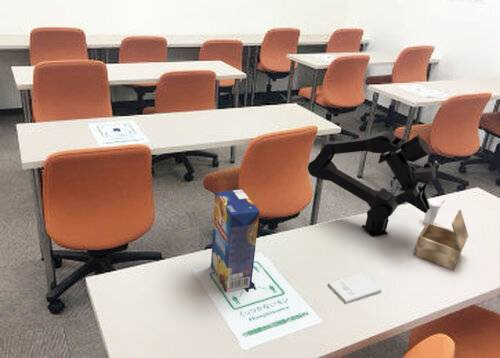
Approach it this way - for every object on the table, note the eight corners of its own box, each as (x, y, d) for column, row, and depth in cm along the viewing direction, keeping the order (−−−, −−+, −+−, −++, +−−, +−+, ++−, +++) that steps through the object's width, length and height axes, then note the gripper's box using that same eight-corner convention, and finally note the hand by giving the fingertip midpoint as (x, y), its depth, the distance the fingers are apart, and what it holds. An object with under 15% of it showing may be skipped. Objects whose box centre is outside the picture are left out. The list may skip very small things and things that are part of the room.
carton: (412, 255, 145) (418, 236, 142) (422, 239, 154) (427, 221, 151) (452, 271, 140) (459, 252, 136) (460, 253, 148) (467, 235, 145)
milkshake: (438, 228, 162) (445, 203, 157) (422, 225, 163) (429, 200, 158) (436, 221, 166) (443, 197, 161) (420, 218, 167) (427, 194, 162)
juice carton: (251, 287, 125) (259, 211, 114) (225, 292, 122) (231, 215, 111) (234, 261, 135) (241, 188, 124) (210, 265, 132) (215, 192, 121)
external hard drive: (380, 293, 128) (345, 305, 122) (361, 276, 134) (327, 286, 129) (381, 289, 127) (346, 300, 122) (362, 271, 134) (327, 282, 128)
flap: (451, 223, 135) (453, 223, 135) (459, 209, 144) (460, 209, 143) (459, 251, 137) (461, 251, 136) (466, 236, 145) (468, 235, 145)
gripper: (415, 166, 132) (444, 213, 131) (431, 148, 146) (457, 190, 146) (382, 182, 139) (410, 226, 139) (401, 163, 153) (426, 203, 153)
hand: (427, 210), depth 144 cm, fingers closed
